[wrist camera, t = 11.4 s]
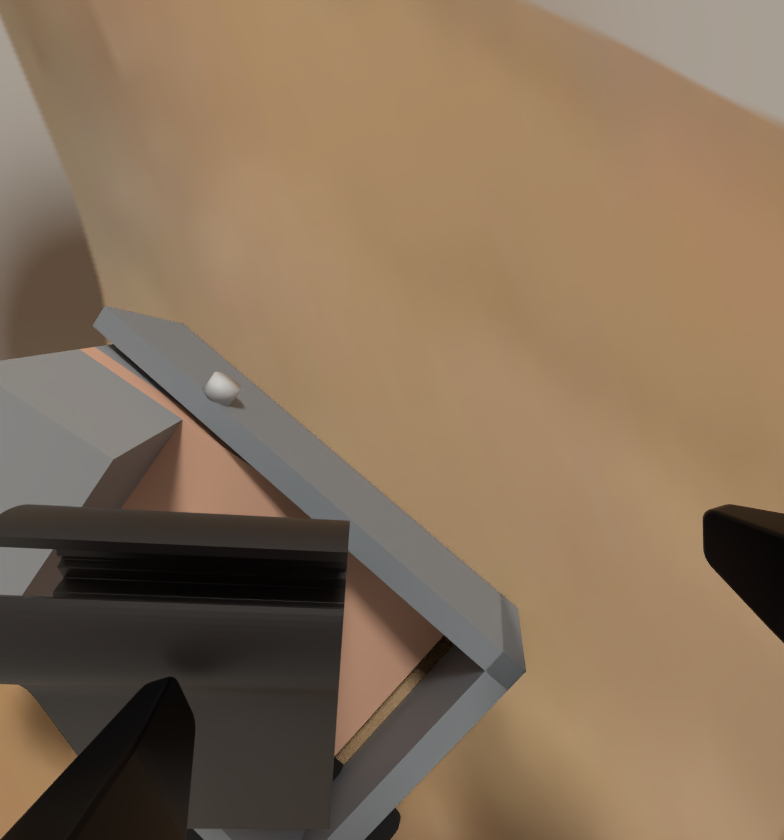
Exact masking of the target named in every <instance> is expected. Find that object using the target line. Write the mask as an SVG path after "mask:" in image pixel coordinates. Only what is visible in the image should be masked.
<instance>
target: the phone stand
mask: <svg viewBox="0 0 784 840" xmlns="http://www.w3.org/2000/svg"><path fill="white" fill-rule="evenodd" d="M349 528H350V521H347V520H328V519H308V518H288V517H269V516H249V515H230V514H210V513H191V512H171V511H152V510H132V509H113V508H93V507H73V506H54V505H34V504H25V505H19V506H16V507H13V508H10V509H8V510H6V511H5V512H3V513H1V514H0V547H11V548H34V549H56V552H57V556H58V557H60V558H61V560H60V562H59V564H58V566H57V568H58V569H59V571H60V572H61V574H62V575H63V579H62V581H61V582H60V583H59V584H58V586H57V587H56V588H55V590H54V591H53V597H46V596H19V595H0V684H18V685H20V686H22V687H24V688H25V689H27V690H28V691H29V692H30V693H31V694H32V695H33V696H34V697H35V699H36V700H37V701H38V703H39V704H40V705H41V707H42V708H43V709H44V711H45V712H46V713H47V715H48V716H49V717H50V719H51V720H52V721H53V723H54V724H55V726H56V727H57V728H58V730H59V731H60V732H61V734H62V735H63V736H64V738H65V739H66V740H67V742H68V743H69V744H70V746H71V747H72V748H73V750H74V751H75V752H76V754H77V755H78V756H79V754H80V753H81V752H82V751H83V750H84V749H85V748H86V747H87V746H88V745H89V744H90V743H91V742H92V740H93V739H94V738H95V737H96V736H97V735H98V734H99V733H100V732H101V731H102V730H103V729H104V728H105V726H106V725H107V724H108V723H109V722H110V721H111V720H112V719H113V718H114V717H115V716H116V715H117V714H118V713H119V711H120V710H121V709H122V708H123V707H124V706H125V705H126V704H127V703H128V702H129V701H130V700H131V699H132V697H133V696H134V695H135V694H136V693H137V692H138V691H139V690H140V689H141V688H142V687H143V686H144V685H145V684H147V683H149V682H152V681H156V680H159V679H162V678H165V677H169V676H171V677H174V678H175V679H177V681H178V682H179V684H180V686H181V688H182V691H183V693H184V695H185V697H186V699H187V701H188V703H189V706H190V708H191V710H192V712H193V715H194V718H195V728H196V730H195V743H194V754H193V766H192V777H191V789H190V800H189V812H188V823H187V829H329V826H330V811H331V797H332V782H333V767H334V752H335V737H336V722H337V708H338V693H339V678H340V663H341V648H342V633H343V618H344V604H345V589H346V574H347V559H348V543H349Z"/></svg>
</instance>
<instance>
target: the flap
mask: <svg viewBox="0 0 784 840" xmlns="http://www.w3.org/2000/svg"><path fill="white" fill-rule="evenodd" d="M25 504H34V505H54V506H73V507H93V508H113V509H132V510H152V511H171V512H191V513H210V514H230V515H249V516H269V517H288V518H308V519H312V518H311V517H309V516H308V515H307V514H306V513H305V512H304V511H303V510H301V509H300V508H299V507H298V506H297V505H296V504H295V503H294V502H292V501H291V500H290V499H289V498H288V497H287V496H286V495H284V494H283V493H282V492H281V491H280V490H279V489H278V488H276V487H275V486H274V485H273V484H272V483H271V482H270V481H268V480H267V479H266V478H265V477H264V476H263V475H262V474H261V473H259V472H258V471H257V470H256V469H255V468H254V467H253V466H251V465H250V464H249V463H248V462H247V461H246V460H245V459H243V458H242V457H241V456H240V455H239V454H238V453H237V452H236V451H234V450H233V449H232V448H231V447H230V446H229V445H228V444H226V443H225V442H224V441H223V440H222V439H221V438H220V437H218V436H217V435H216V434H215V433H214V432H213V431H212V430H211V429H209V428H208V427H207V426H206V425H205V424H204V423H203V422H201V421H200V420H199V419H198V418H197V417H196V416H195V415H193V414H192V413H191V412H190V411H189V410H188V409H187V408H185V407H184V406H183V405H182V404H181V403H180V402H179V401H178V400H176V399H175V398H174V397H173V396H172V395H171V394H170V393H168V392H167V391H166V390H165V389H164V388H163V387H162V386H160V385H159V384H158V383H157V382H156V381H155V380H154V379H153V378H151V377H150V376H149V375H148V374H147V373H146V372H145V371H143V370H142V369H141V368H140V367H139V366H138V365H137V364H135V363H134V362H133V361H132V360H131V359H130V358H129V357H128V356H126V355H125V354H124V353H123V352H122V351H121V350H120V349H118V348H117V347H116V346H115V345H114V344H112V345H105V346H99V347H92V348H85V349H78V350H71V351H64V352H58V353H51V354H43V355H37V356H30V357H23V358H17V359H9V360H2V361H0V514H1V513H3V512H5V511H6V510H8V509H10V508H13V507H16V506H19V505H25ZM60 560H61V558H60V557H58V556H57V552H56V549H34V548H11V547H0V595H19V596H46V597H53V591H54V590H55V588H56V587H57V586H58V584H59V583H60V582H61V581H62V579H63V575H62V574H61V572H60V571H59V569H58V568H57V566H58V564H59V562H60ZM443 636H444V634H442V633H441V632H440V631H439V630H438V629H437V628H436V627H434V626H433V625H432V624H431V623H430V622H429V621H428V620H427V619H425V618H424V617H423V616H422V615H421V614H420V613H419V612H417V611H416V610H415V609H414V608H413V607H412V606H411V605H409V604H408V603H407V602H406V601H405V600H404V599H403V598H402V597H400V596H399V595H398V594H397V593H396V592H395V591H394V590H392V589H391V588H390V587H389V586H388V585H387V584H386V583H384V582H383V581H382V580H381V579H380V578H379V577H378V576H377V575H375V574H374V573H373V572H372V571H371V570H370V569H369V568H367V567H366V566H365V565H364V564H363V563H362V562H361V561H359V560H358V559H357V558H356V557H355V556H354V555H353V554H351V553H350V552H349V551H348V559H347V574H346V589H345V604H344V618H343V633H342V648H341V663H340V678H339V693H338V708H337V722H336V737H335V752H334V757H335V755H336V754H337V753H338V752H339V751H340V750H341V749H342V748H343V747H344V746H345V744H346V743H347V742H348V741H349V740H350V739H351V738H352V737H353V736H354V734H355V733H356V732H357V731H358V730H359V729H360V728H361V727H362V726H363V724H364V723H365V722H366V721H367V720H368V719H369V718H370V717H371V716H372V714H373V713H374V712H375V711H376V710H377V709H378V708H379V707H380V706H381V704H382V703H383V702H384V701H385V700H386V699H387V698H388V697H389V696H390V694H391V693H392V692H393V691H394V690H395V689H396V688H397V687H398V686H399V684H400V683H401V682H402V681H403V680H404V679H405V678H406V677H407V676H408V674H409V673H410V672H411V671H412V670H413V669H414V668H415V667H416V666H417V665H418V663H419V662H420V661H421V660H422V659H423V658H424V657H425V656H426V655H427V653H428V652H429V651H430V650H431V649H432V648H433V647H434V646H435V645H436V643H437V642H438V641H439V640H440V639H441V638H442V637H443Z"/></svg>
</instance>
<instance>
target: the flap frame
mask: <svg viewBox="0 0 784 840" xmlns="http://www.w3.org/2000/svg"><path fill="white" fill-rule="evenodd" d="M93 326H94V327H95V328H96V329H97V330H98V331H99V332H100V333H101V334H103V335H104V336H105V337H106V338H107V339H108V340H109V341H110V342H112V343H113V344H114V345H115V346H116V347H117V348H118V349H120V350H121V351H122V352H123V353H124V354H125V355H126V356H128V357H129V358H130V359H131V360H132V361H133V362H134V363H135V364H137V365H138V366H139V367H140V368H141V369H142V370H143V371H145V372H146V373H147V374H148V375H149V376H150V377H151V378H153V379H154V380H155V381H156V382H157V383H158V384H159V385H160V386H162V387H163V388H164V389H165V390H166V391H167V392H168V393H170V394H171V395H172V396H173V397H174V398H175V399H176V400H178V401H179V402H180V403H181V404H182V405H183V406H184V407H185V408H187V409H188V410H189V411H190V412H191V413H192V414H193V415H195V416H196V417H197V418H198V419H199V420H200V421H201V422H203V423H204V424H205V425H206V426H207V427H208V428H209V429H211V430H212V431H213V432H214V433H215V434H216V435H217V436H218V437H220V438H221V439H222V440H223V441H224V442H225V443H226V444H228V445H229V446H230V447H231V448H232V449H233V450H234V451H236V452H237V453H238V454H239V455H240V456H241V457H242V458H243V459H245V460H246V461H247V462H248V463H249V464H250V465H251V466H253V467H254V468H255V469H256V470H257V471H258V472H259V473H261V474H262V475H263V476H264V477H265V478H266V479H267V480H268V481H270V482H271V483H272V484H273V485H274V486H275V487H276V488H278V489H279V490H280V491H281V492H282V493H283V494H284V495H286V496H287V497H288V498H289V499H290V500H291V501H292V502H294V503H295V504H296V505H297V506H298V507H299V508H300V509H301V510H303V511H304V512H305V513H306V514H307V515H308V516H309V517H311V518H312V519H328V520H347V521H350V528H349V543H348V551H349V552H350V553H351V554H353V555H354V556H355V557H356V558H357V559H358V560H359V561H361V562H362V563H363V564H364V565H365V566H366V567H367V568H369V569H370V570H371V571H372V572H373V573H374V574H375V575H377V576H378V577H379V578H380V579H381V580H382V581H383V582H384V583H386V584H387V585H388V586H389V587H390V588H391V589H392V590H394V591H395V592H396V593H397V594H398V595H399V596H400V597H402V598H403V599H404V600H405V601H406V602H407V603H408V604H409V605H411V606H412V607H413V608H414V609H415V610H416V611H417V612H419V613H420V614H421V615H422V616H423V617H424V618H425V619H427V620H428V621H429V622H430V623H431V624H432V625H433V626H434V627H436V628H437V629H438V630H439V631H440V632H441V633H442V634H444V635H445V636H446V637H447V638H448V639H449V640H450V641H452V642H453V643H454V644H453V646H452V647H451V648H450V649H449V650H448V651H447V652H446V653H445V654H444V655H443V657H442V658H441V659H440V660H439V661H438V662H437V663H436V664H435V665H434V666H433V668H432V669H431V670H430V671H429V672H428V673H427V674H426V675H425V676H424V677H423V679H422V680H421V681H420V682H419V683H418V684H417V685H416V686H415V687H414V688H413V690H412V691H411V692H410V693H409V694H408V695H407V696H406V697H405V698H404V699H403V700H402V702H401V703H400V704H399V705H398V706H397V707H396V708H395V709H394V710H393V711H392V713H391V714H390V715H389V716H388V717H387V718H386V719H385V720H384V721H383V722H382V724H381V725H380V726H379V727H378V728H377V729H376V730H375V731H374V732H373V733H372V735H371V736H370V737H369V738H368V739H367V740H366V741H365V742H364V743H363V744H362V746H361V747H360V748H359V749H358V750H357V751H356V752H355V753H354V754H353V755H352V757H351V758H350V759H349V760H348V761H347V762H346V763H345V764H344V765H343V768H342V770H341V772H340V774H339V775H338V776H337V777H336V778H335V780H334V781H333V782H332V797H331V811H330V826H329V829H194V830H195V831H196V832H197V833H198V834H199V835H200V836H201V837H202V838H203V839H204V840H364V839H365V838H366V837H367V836H368V835H369V834H370V833H371V832H372V831H373V830H374V829H375V828H376V827H377V826H378V825H379V824H380V823H381V822H382V821H383V820H384V819H385V818H386V816H387V815H388V814H389V813H390V812H391V811H392V810H393V809H394V808H395V807H396V806H397V805H398V804H399V803H400V802H401V801H402V800H403V799H404V798H405V797H406V796H407V795H408V794H409V793H410V792H411V790H412V789H413V788H414V787H415V786H416V785H417V784H418V783H419V782H420V781H421V780H422V779H423V778H424V777H425V776H426V775H427V774H428V773H429V772H430V771H431V770H432V769H433V768H434V767H435V765H436V764H437V763H438V762H439V761H440V760H441V759H442V758H443V757H444V756H445V755H446V754H447V753H448V752H449V751H450V750H451V749H452V748H453V747H454V746H455V745H456V744H457V743H458V742H459V741H460V739H461V738H462V737H463V736H464V735H465V734H466V733H467V732H468V731H469V730H470V729H471V728H472V727H473V726H474V725H475V724H476V723H477V722H478V721H479V720H480V719H481V718H482V717H483V716H484V714H485V713H486V712H487V711H488V710H489V709H490V708H491V707H492V706H493V705H494V704H495V703H496V702H497V701H498V700H499V699H500V698H501V697H502V696H503V695H504V694H505V693H506V692H507V691H508V690H509V688H510V687H511V686H512V685H513V684H514V683H515V682H516V681H517V680H518V679H519V678H520V677H521V676H522V675H523V674H524V673H525V672H526V668H525V660H524V652H523V645H522V637H521V630H520V622H519V615H518V608H517V607H516V606H515V605H513V604H512V603H511V602H510V601H509V600H507V599H506V598H505V597H504V596H503V595H502V594H500V593H499V592H498V591H497V590H496V589H495V588H493V587H492V586H491V585H490V584H489V583H487V582H486V581H485V580H484V579H483V578H482V577H480V576H479V575H478V574H477V573H476V572H475V571H473V570H472V569H471V568H470V567H469V566H467V565H466V564H465V563H464V562H463V561H462V560H460V559H459V558H458V557H457V556H456V555H455V554H453V553H452V552H451V551H450V550H449V549H447V548H446V547H445V546H444V545H443V544H442V543H440V542H439V541H438V540H437V539H436V538H435V537H433V536H432V535H431V534H430V533H429V532H427V531H426V530H425V529H424V528H423V527H422V526H420V525H419V524H418V523H417V522H416V521H415V520H413V519H412V518H411V517H410V516H409V515H407V514H406V513H405V512H404V511H403V510H402V509H400V508H399V507H398V506H397V505H396V504H395V503H393V502H392V501H391V500H390V499H389V498H387V497H386V496H385V495H384V494H383V493H382V492H380V491H379V490H378V489H377V488H376V487H375V486H373V485H372V484H371V483H370V482H369V481H367V480H366V479H365V478H364V477H363V476H362V475H360V474H359V473H358V472H357V471H356V470H355V469H353V468H352V467H351V466H350V465H349V464H348V463H346V462H345V461H344V460H343V459H342V458H340V457H339V456H338V455H337V454H336V453H335V452H333V451H332V450H331V449H330V448H329V447H328V446H326V445H325V444H324V443H323V442H322V441H320V440H319V439H318V438H317V437H316V436H315V435H313V434H312V433H311V432H310V431H309V430H308V429H306V428H305V427H304V426H303V425H302V424H300V423H299V422H298V421H297V420H296V419H295V418H293V417H292V416H291V415H290V414H289V413H288V412H286V411H285V410H284V409H283V408H282V407H280V406H279V405H278V404H277V403H276V402H275V401H273V400H272V399H271V398H270V397H269V396H268V395H266V394H265V393H264V392H263V391H262V390H260V389H259V388H258V387H257V386H256V385H255V384H253V383H252V382H251V381H250V380H249V379H248V378H246V377H245V376H244V375H243V374H242V373H240V372H239V371H238V370H237V369H236V368H235V367H233V366H232V365H231V364H230V363H229V362H228V361H226V360H225V359H224V358H223V357H222V356H220V355H219V354H218V353H217V352H216V351H215V350H213V349H212V348H211V347H210V346H209V345H208V344H206V343H205V342H204V341H203V340H202V339H200V338H199V337H198V336H197V335H196V334H195V333H193V332H192V331H191V330H190V329H189V328H188V327H186V326H185V325H184V324H183V323H178V322H174V321H169V320H165V319H161V318H156V317H152V316H147V315H143V314H139V313H134V312H130V311H125V310H121V309H117V308H112V307H108V306H105V307H104V308H103V310H102V312H101V313H100V315H99V316H98V318H97V320H96V321H95V323H94V324H93Z"/></svg>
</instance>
